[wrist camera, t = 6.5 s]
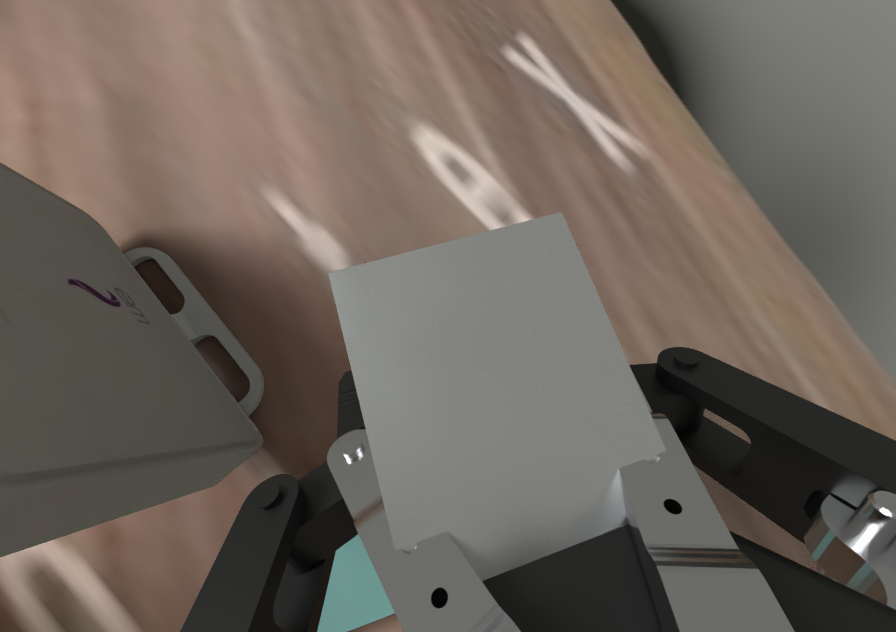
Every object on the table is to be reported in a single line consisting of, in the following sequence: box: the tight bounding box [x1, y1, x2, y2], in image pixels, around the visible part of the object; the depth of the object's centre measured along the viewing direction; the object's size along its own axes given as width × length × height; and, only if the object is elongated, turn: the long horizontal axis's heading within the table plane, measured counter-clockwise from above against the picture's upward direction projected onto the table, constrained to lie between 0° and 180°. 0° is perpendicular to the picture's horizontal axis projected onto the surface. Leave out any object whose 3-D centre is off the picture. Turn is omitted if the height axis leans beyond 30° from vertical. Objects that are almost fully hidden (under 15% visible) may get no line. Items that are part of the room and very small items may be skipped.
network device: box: [0, 163, 264, 557], centre depth 20 cm, size 26×9×20 cm, turn 43°
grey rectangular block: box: [328, 212, 667, 581], centre depth 12 cm, size 6×5×11 cm
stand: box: [317, 534, 395, 632], centre depth 26 cm, size 10×10×2 cm
